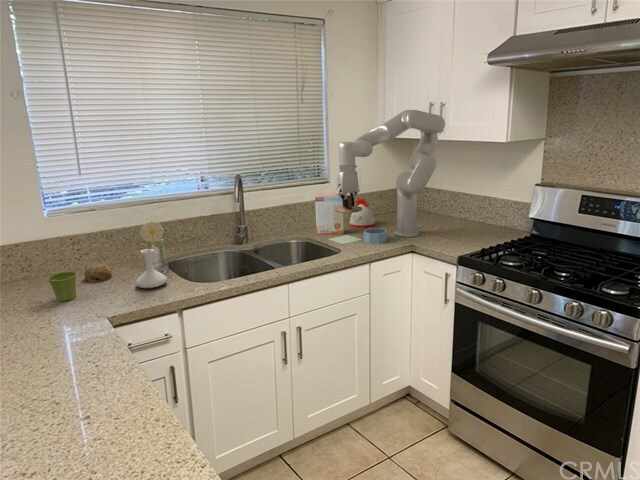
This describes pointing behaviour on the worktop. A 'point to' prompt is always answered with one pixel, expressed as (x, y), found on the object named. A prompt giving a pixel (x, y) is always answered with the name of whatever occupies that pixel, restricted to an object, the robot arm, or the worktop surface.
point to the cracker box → (329, 214)
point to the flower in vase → (151, 276)
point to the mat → (345, 239)
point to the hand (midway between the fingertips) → (348, 206)
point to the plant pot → (63, 285)
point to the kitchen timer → (362, 216)
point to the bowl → (375, 235)
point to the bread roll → (98, 272)
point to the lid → (350, 208)
